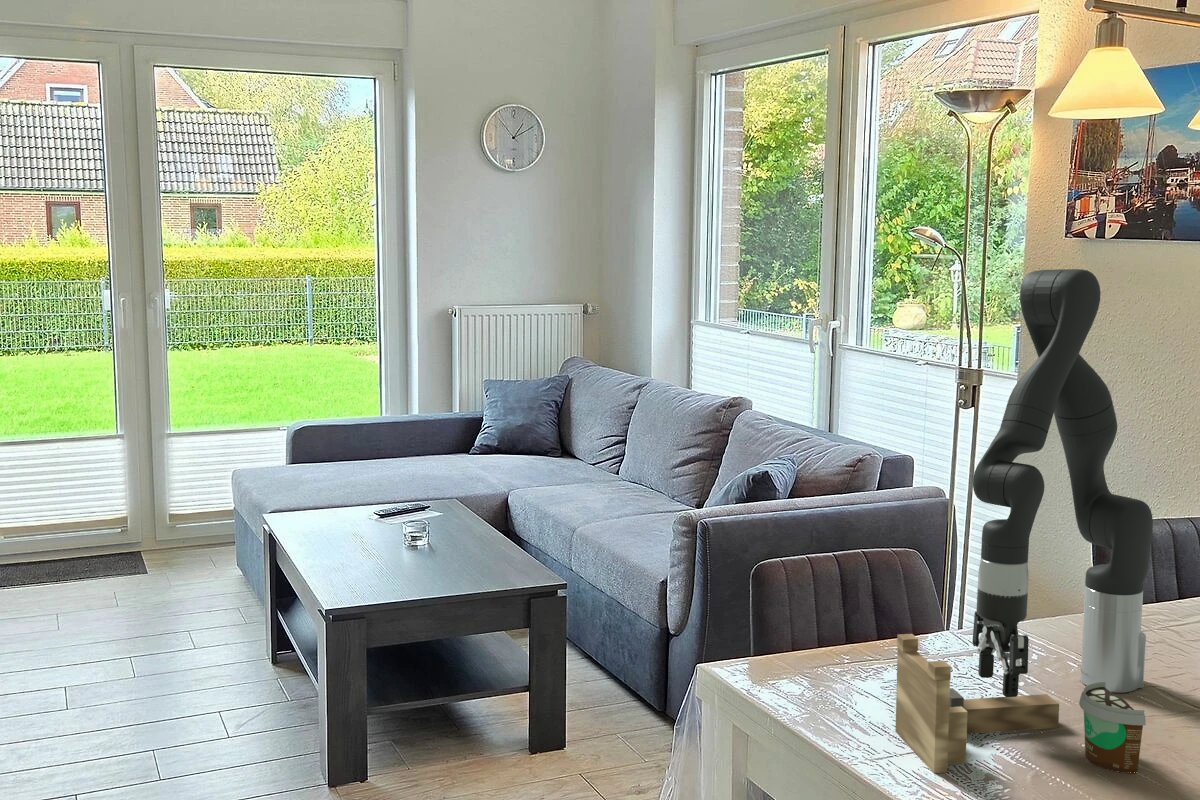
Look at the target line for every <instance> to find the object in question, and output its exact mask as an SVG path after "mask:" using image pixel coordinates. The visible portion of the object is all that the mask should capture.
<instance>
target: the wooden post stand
mask: <svg viewBox="0 0 1200 800" xmlns="http://www.w3.org/2000/svg"><path fill="white" fill-rule="evenodd" d="M896 636H897V641H896V642H897V643H896V647H897V654H896V655H897V657H896V658H897V659H896V660H897V661H896V692H895V693H896V697H895V733H896V734H897V735H898V736H899V737H900V738H901V739H902V740H903V742H905V743H906V745H907V746H908V747H909V748H910V749H911V750H912V751H913V752H914V754H916V756H918V758H919V759H920V760H921V761H922V763H924V764H925V765H926V766H927V768H929V769H930V771H931V772H932V773H933V774H942V773H948V765H956V764H966V763H967V740H968V738H967V735H968V734H967V711H966V710H965V709H964V708H963V707H962V706H961V707H949V697H950V688H951V676H952V675H951V673H952V671H951V670H952V666H951V665H950V664H949V663H948V662H947V661H945V660H933V661H932V660H931V661H928V660H927V659H926V658H925V657H924V656H922V655H921V654H920V653H919V652H918V651H919V638H918V637H917V636H916V635H914V634H913V633H902V634H901V633H900V634H899V633H898V634H897V635H896Z"/></svg>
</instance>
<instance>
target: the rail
mask: <svg viewBox="0 0 1200 800" xmlns="http://www.w3.org/2000/svg"><path fill="white" fill-rule="evenodd" d="M961 706H962V707H963V708H964V709H965V710H966V711H967V735H969V734H983V733H984V734H987V733H1000V732H1014V731H1028V730H1029V731H1031V730H1042V729H1044V730H1045V729H1058V728H1059V719H1060V703H1059V702H1058V701H1056V699H1054V698H1053V697H1051V696H1050V695H1048V694H1047V693H1045V694H1044V693H1043V694H1029V695H1028V694H1027V695H1026V694H1025V695H1017V696H1016V697H1005V696H998V697H994V696H993V697H983V698H982V697H981V698H966V699H965V698H964V697H963V696H962V695H961V694H960V692H958V691H957V690H956V689H955V688H952V687H950V697H949V707H961ZM1057 727H1058V728H1057Z"/></svg>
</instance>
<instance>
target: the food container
mask: <svg viewBox="0 0 1200 800" xmlns="http://www.w3.org/2000/svg"><path fill="white" fill-rule="evenodd" d="M1078 704H1079V705H1078V706H1080V708H1081V709H1082V710H1083V721H1084V722H1083V725H1084V726H1083V727H1084V728H1083V731H1084V753H1085V754H1084V756H1085V758H1086V760H1087V759H1088V761H1089V762H1090V763H1091V764H1092V765H1094V766H1096V767H1098V766H1099V768H1101V769H1103V768H1104V770H1106V769H1108V770H1107V771H1110V770H1113V771H1112V772H1114V771H1119V772H1118V773H1120V772H1129V773H1128V774H1137V773H1138V770H1139V761H1140V753H1141V746H1142V737H1143V728H1144V726H1146V725H1147V724H1146V714H1145V710H1144V709H1134V708H1133V707H1132V706H1131V705H1130V704H1129V703H1128V702H1127V700H1125V699H1124V698H1122V697H1121V696H1119V695H1116V693H1115V694H1114V692H1110V691H1109V690H1107V689H1106V682H1105V681H1103V682H1095V683H1091V684H1089V685H1085V686H1084V688H1083V690H1082V692H1081V695H1080V698H1079V701H1078ZM1130 772H1131V773H1130ZM1134 772H1135V773H1134ZM1136 772H1137V773H1136Z"/></svg>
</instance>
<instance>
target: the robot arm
mask: <svg viewBox="0 0 1200 800" xmlns="http://www.w3.org/2000/svg"><path fill="white" fill-rule="evenodd" d="M1020 285H1021V286H1020V288H1019V302H1020V304H1019V305H1020V308H1021V313H1022V316H1023V319H1024V322H1025V325H1026V328H1027V330H1028V334H1029V336H1030V339H1031V342H1032V344H1033V346H1034V349H1035V351H1036V354H1037V359H1036V360H1035V362H1034V363H1033V364H1032V365H1031V366H1030V367H1029V368H1028V370H1026V372H1025V373H1024V374H1023V375H1022V376H1021V377H1020V378H1019V380H1018V381H1017V383H1016V384H1015V385H1014V387H1013V389H1012V391H1011V393H1010V395H1009V397H1008V400H1007V403H1006V406H1005V410H1004V413H1003V417H1002V420H1001V423H1000V426H999V427H1000V428H999V429H998V432H997V433H996V435H995V437H994V438H993V439H992V441H991V443H990V444H989V445H988V446H989V447H987V450H986V451H985V453H984V454H983V455H982V457H981V459H980V460H979V462H978V464H977V465H976V467H975V469H974V472H973V476H972V488H973V492H974V495H975V496H976V499H978V500H979V501H980V502H982V503H985V504H988V505H994V506H1000V507H1006V508H1010V513H1009V515H1008V517H1007V519H1006V518H1005V519H1003V518H1000V519H991V520H988V521H987V522H985V523H984V524H983V526H982V532H981V549H980V562H979V565H978V573H977V574H978V575H977V592H976V593H977V594H976V596H977V597H976V610H975V611H974V614H973V615H974V617H973V628H972V646H973V647H976V651H977V654H978V656H979V658H978V676H979V677H980V678H982V679H985V678H986V679H987V678H988V679H989V678H992V677H993V676H994V666H995V664H994V663H995V655H994V653H996V656H997V660H998V661H1000V662H1001V665H1002V668H1003V669H1002V670H1003V673H1002V674H1003V677H1002V692H1001V693H1002V695H1003V697H1016V696H1019V682H1020V680H1019V679H1020V678H1019V677H1020V675H1026V674H1028V672H1029V671H1028V670H1029V636H1028V635H1027V634H1023V635H1022V634H1021V635H1020V634H1019V630H1018V629H1019V628H1018V624H1019V623H1020V622H1021V621H1022V622H1023V621H1024V620H1026V618H1027V616H1028V613H1027V612H1028V597H1029V595H1028V594H1029V583H1030V582H1029V580H1030V579H1029V578H1030V577H1029V552H1030V551H1029V548H1030V547H1029V546H1030V535H1031V532H1032V528H1033V525H1034V522H1035V520H1036V519H1035V518H1036V517H1037V516H1036V515H1037V513H1038V511H1039V508H1040V505H1041V502H1042V499H1043V497H1044V493H1045V479H1044V477H1043V474H1042V473H1041V471H1040V470H1039V469H1038V467H1036V466H1035V465H1031V464H1027V463H1021V462H1014V460H1015V459H1016V458H1018V456H1020V455H1023V454H1028V453H1036V452H1039V451H1041V450H1042V449H1043V447H1044V446H1045V443H1046V440H1047V438H1048V434H1049V430H1050V426H1051V423H1052V420H1053V417H1054V419H1055V423H1056V426H1057V427H1056V428H1057V430H1058V434H1059V437H1060V442H1061V443H1062V448H1063V452H1064V456H1065V461H1066V465H1067V469H1068V475H1069V478H1070V479H1069V480H1070V485H1071V491H1072V492H1071V494H1072V501H1073V507H1074V514H1075V519H1076V524H1077V528H1078V531H1079V533H1080V535H1081V536H1082V538H1083V539H1084V540H1085V541H1087V542H1089V543H1090V544H1093V545H1095V546H1098V547H1102V548H1107V549H1110V550H1112V551H1111V557H1110V562H1109V563H1103V564H1102V563H1101V564H1097V565H1093V566H1090V567H1088V569H1087V570H1086V572H1085V577H1084V579H1085V581H1084V600H1083V601H1084V602H1083V617H1082V618H1083V620H1082V621H1083V623H1082V640H1081V642H1082V643H1081V660H1080V661H1081V664H1080V665H1081V666H1080V681H1081V683H1083V684H1084V685H1085V686H1087V685H1089V684H1091V683H1095V682H1103V681H1105V682H1106V689H1107V690H1109V691H1110V692H1111V693H1119V694H1120V693H1129V692H1133V691H1136V690H1137V689H1141V688H1142V689H1143V688H1144V680H1145V679H1144V678H1145V661H1146V644H1147V636H1146V634H1145V633H1144V632H1143V631H1142V621H1143V620H1142V618H1143V598H1144V596H1143V595H1144V584H1145V580H1146V579H1147V575H1148V571H1149V567H1150V556H1151V550H1152V549H1151V548H1152V540H1153V539H1152V538H1153V531H1154V530H1153V529H1154V525H1153V524H1154V522H1153V521H1154V520H1153V514H1152V513H1153V512H1152V510H1151V508H1150V506H1149V505H1148V504H1147V503H1146V502H1144V501H1143V500H1140V499H1138V498H1132V497H1130V496H1129V497H1128V496H1123V495H1118V494H1115V493H1111V491H1110V490H1109V487H1108V484H1107V481H1106V480H1107V479H1106V475H1105V470H1104V465H1105V462H1106V459H1107V456H1108V454H1109V453H1110V451H1111V448H1112V446H1113V443H1114V442H1115V439H1116V436H1117V434H1118V433H1117V432H1118V421H1117V415H1116V412H1115V407H1114V403H1113V398H1112V394H1111V392H1110V390H1109V387H1108V386H1107V384H1106V383H1105V381H1103V378H1102V377H1101V376H1100V375H1099V374H1098V373H1097V371H1095V369H1094V368H1093V367H1092V366H1091V365H1090V364H1089V363H1088V362H1087V361H1086V360H1085V358H1084V357H1083V356H1081V354H1080V351H1081V350H1082V348H1083V345H1084V343H1085V341H1086V339H1087V337H1088V335H1089V332H1090V331H1091V328H1092V326H1093V324H1094V322H1095V320H1096V317H1097V315H1098V311H1099V308H1100V302H1101V293H1102V292H1101V286H1100V283H1099V280H1098V278H1097V277H1096V275H1095V274H1094V273H1093V272H1091V271H1089V270H1086V269H1083V268H1081V269H1078V268H1070V269H1069V268H1068V269H1067V268H1066V269H1065V268H1063V269H1039V270H1034V271H1033V270H1032V271H1031V272H1029V273H1028V274H1026V275H1025V276H1024V278H1023V280H1022V282H1021V284H1020ZM1020 660H1021V661H1020Z"/></svg>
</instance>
